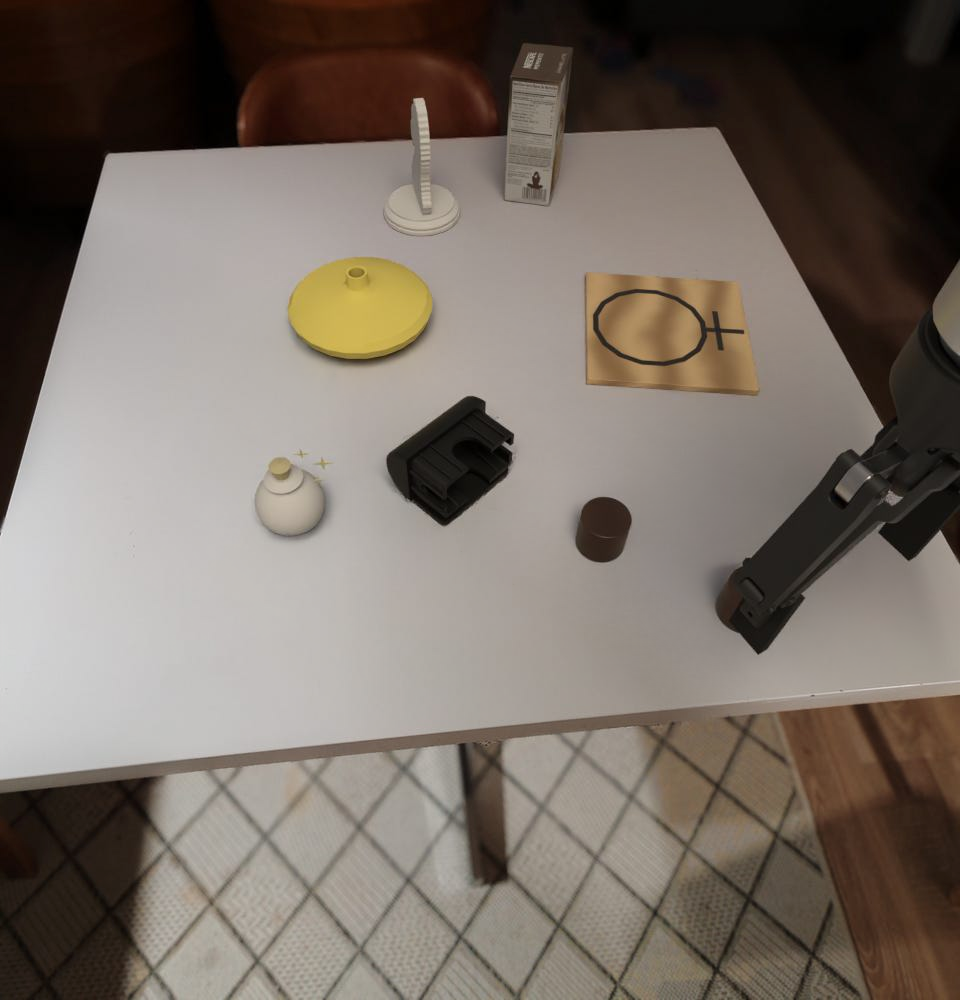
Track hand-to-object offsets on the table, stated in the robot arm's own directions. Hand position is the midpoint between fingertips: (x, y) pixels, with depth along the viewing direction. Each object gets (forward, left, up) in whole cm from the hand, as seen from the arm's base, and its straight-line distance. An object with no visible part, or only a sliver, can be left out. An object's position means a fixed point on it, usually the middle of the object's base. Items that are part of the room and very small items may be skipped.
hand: (825, 588), depth 50 cm
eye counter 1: (+12, -12, -15) cm, 23 cm away
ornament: (+39, -12, -15) cm, 44 cm away
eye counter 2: (0, -6, -15) cm, 16 cm away
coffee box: (+20, -69, -15) cm, 74 cm away
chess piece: (+34, -61, -15) cm, 72 cm away
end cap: (+26, -18, -15) cm, 35 cm away
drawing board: (+4, -41, -15) cm, 44 cm away
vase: (+38, -39, -15) cm, 57 cm away
